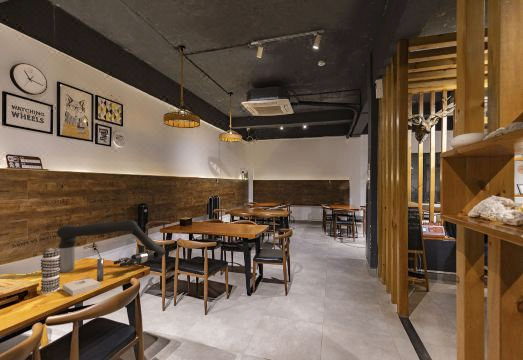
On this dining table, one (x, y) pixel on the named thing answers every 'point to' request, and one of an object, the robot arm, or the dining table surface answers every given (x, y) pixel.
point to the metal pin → (100, 269)
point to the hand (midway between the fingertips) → (116, 264)
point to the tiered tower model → (50, 270)
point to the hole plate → (80, 286)
